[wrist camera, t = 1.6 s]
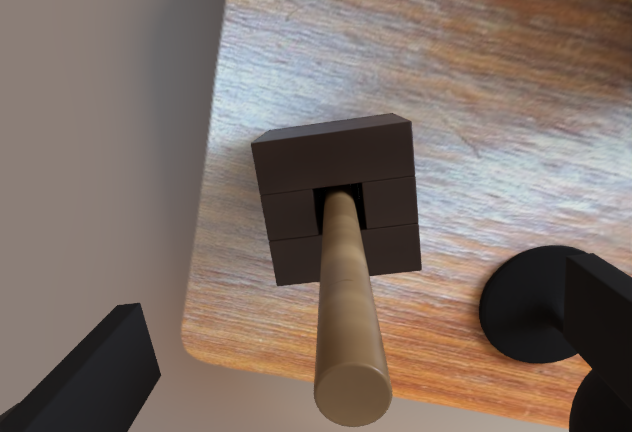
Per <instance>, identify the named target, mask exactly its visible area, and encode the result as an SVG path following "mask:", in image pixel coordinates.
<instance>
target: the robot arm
mask: <svg viewBox="0 0 632 432" xmlns="http://www.w3.org/2000/svg"><path fill="white" fill-rule="evenodd" d="M563 338H564V339H565V340H566V341H567V342H568V343H569V344H570V345H571V346H572V347H573V348H574V349H575V350H576V351H577V353H578V354H579V355H580V356H581V357H582V358H583V359H584V360H585V361H586V362H587V363H588V364H589V365H590V366H591V368H592V369H593V370H594V371H595V372H596V373H597V374H598V375H599V376H600V377H601V378H602V379H603V380H604V382H605V383H606V384H607V385H608V386H609V387H610V388H611V389H612V390H613V391H614V392H615V393H616V394H617V395H618V397H619V398H620V399H621V400H622V401H623V402H624V403H625V404H626V405H627V406H628V407H629V408H630V409H631V410H632V277H630V276H629V275H627V274H625V273H624V272H622V271H621V270H619V269H617V268H616V267H614V266H613V265H611V264H609V263H608V262H606V261H605V260H603V259H601V258H600V257H598V256H597V255H595V254H594V253H590V254H581V255H572V256H566V269H565V297H564V324H563ZM160 376H161V373H160V370H159V366H158V363H157V359H156V356H155V353H154V349H153V346H152V342H151V339H150V335H149V332H148V328H147V325H146V322H145V318H144V315H143V311H142V308H141V304H140V303H134V304H124V305H117V306H116V307H115V308H114V309H113V310H112V311H111V312H110V313H109V314H108V315H107V316H106V317H105V318H104V319H103V320H102V321H101V322H100V323H99V324H98V325H97V326H96V327H95V328H94V329H93V330H92V331H91V332H90V333H89V334H88V335H87V336H86V337H85V338H84V339H83V340H82V341H81V342H80V343H79V344H78V345H77V346H76V347H75V348H74V349H73V350H72V351H71V352H70V353H69V354H68V355H67V356H66V357H65V358H64V359H63V360H62V361H61V362H60V363H59V364H58V365H57V366H56V367H55V368H54V369H53V370H52V371H51V372H50V373H49V374H48V375H47V376H46V377H45V378H44V379H43V380H42V381H41V382H40V383H39V384H38V385H37V386H36V388H34V389H33V390H32V391H31V392H30V394H28V395H27V396H26V397H25V398H24V399H23V400H22V401H21V402H20V403H18V404H16V405H15V406H13V407H12V408H10V409H9V410H8V411H6V412H5V413H3V414H2V415H0V432H127V431H128V430H129V428H130V426H131V425H132V423H133V421H134V420H135V418H136V416H137V414H138V413H139V411H140V410H141V408H142V406H143V405H144V403H145V401H146V400H147V398H148V396H149V395H150V393H151V391H152V390H153V388H154V386H155V385H156V383H157V381H158V380H159V378H160Z"/></svg>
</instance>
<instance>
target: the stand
mask: <svg viewBox="0 0 632 432" xmlns="http://www.w3.org/2000/svg"><path fill="white" fill-rule="evenodd" d="M251 148H252V153H253V159H254V164H255V170H256V175H257V180H258V186H259V191H260V195H261V196H260V197H261V202H262V208H263V213H264V218H265V224H266V229H267V235H268V240H269V245H270V251H271V256H272V262H273V267H274V272H275V278H276V283H277V286H284V285H293V284H302V283H311V282H320V272H321V254H322V236H323V219H324V203H321V197H320V190H319V188H322V187H330V186H338V185H346V184H353V183H357V186H358V195H359V199H354V203H355V208H356V213H357V218H358V223H359V228H360V233H361V238H362V243H363V247H364V252H365V257H366V262H367V267H368V272H369V276H375V275H384V274H393V273H402V272H411V271H420V270H422V265H421V251H420V237H419V224H418V207H417V193H416V179H415V164H414V150H413V135H412V122H411V121H409V120H407V119H405V118H402V117H400V116H398V115H395V114H393V113H390V114H383V115H375V116H368V117H361V118H354V119H347V120H340V121H332V122H325V123H318V124H311V125H304V126H296V127H289V128H282V129H275V130H269V131H268V132H266V133H265V134H263V135H262V136H261V137H259V138H258V139H256V140H255V141H254V142H252V143H251Z"/></svg>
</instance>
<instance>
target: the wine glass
mask: <svg viewBox="0 0 632 432" xmlns="http://www.w3.org/2000/svg"><path fill="white" fill-rule="evenodd" d="M581 254H588V253H586V252H584V251H582V250H579V249H576V248H573V247H567V246H555V245H551V246H542V247H537V248H534V249H530V250H528V251H525V252H523V253H520V254H518V255H517V256H515V257H513V258H512V259H510V260H508V261H507V262H506V263H505V264H503V265H502V266H501V267H500V268H499V269H498V270H497V271H496V272H495V273H494V274H493V275H492V277H491V278H490V280H489V281H488V282H487V284H486V286H485V288H484V290H483V293H482V296H481V299H480V306H479V319H480V323H481V327H482V329H483V331H484V333H485V335H486V337H487V338H488V340H489V341H490V343H491V344H492V345H493V346H494V347H495V348H496V349H497V350H498V351H500V352H501V353H503V354H504V355H506V356H508V357H510V358H512V359H515V360H518V361H522V362H527V363H552V362H556V361H560V360H564V359H567V358H569V357H572V356H574V355H576V354H578V353H577V351H576V350H575V349H574V348H573V347H572V346H571V345H570V344H569V343H568V342H567V341H566V340H565V339H564V338H563V324H564V297H565V269H566V256H572V255H581ZM569 432H632V410H631V409H630V408H629V407H628V406H627V405H626V404H625V403H624V402H623V401H622V400H621V399H620V398H619V397H618V395H617V394H616V393H615V392H614V391H613V390H612V389H611V388H610V387H609V386H608V385H607V384H606V383H605V382H604V380H603V379H602V378H601V377H600V376H599V375H598V374H597V373H596V372H595V371H594V370H593V369H592V370H591V371H590V372H589V373H588V374H587V376H586V377H585V378H584V380H583V381H582V383H581V385H580V386H579V388H578V390H577V392H576V395H575V397H574V400H573V403H572V408H571V413H570V419H569Z"/></svg>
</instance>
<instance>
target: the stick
mask: <svg viewBox="0 0 632 432" xmlns="http://www.w3.org/2000/svg"><path fill="white" fill-rule="evenodd" d="M314 399H315V402H316V405H317V407H318V408H319V410H320V412H321V413H322V414H323V415H324V416H325V417H326V418H328V419H329V420H330V421H332V422H334V423H337V424H339V425H342V426H349V427H359V426H364V425H368V424H370V423H373V422H375V421H376V420H378V419H379V418H381V417H382V416H383V415H384V414H385V413H386V411H387V410H388V408H389V405H390V403H391V400H392V386H391V381H390V376H389V371H388V366H387V361H386V356H385V351H384V346H383V341H382V336H381V331H380V326H379V322H378V317H377V312H376V307H375V302H374V297H373V292H372V287H371V282H370V277H369V272H368V267H367V262H366V257H365V252H364V247H363V243H362V238H361V233H360V228H359V223H358V218H357V213H356V208H355V203H354V198H353V193H352V188H351V184H346V185H338V186H330V187H325V201H324V219H323V236H322V254H321V272H320V290H319V308H318V326H317V344H316V362H315V380H314Z"/></svg>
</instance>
